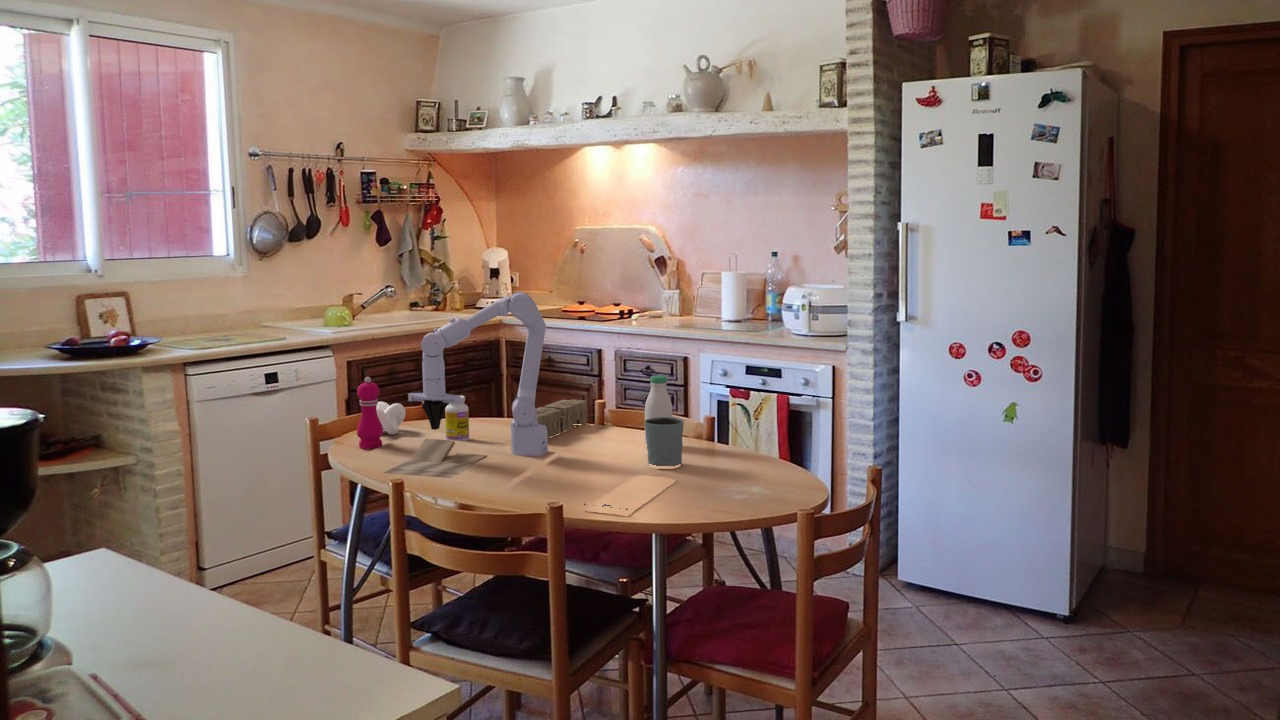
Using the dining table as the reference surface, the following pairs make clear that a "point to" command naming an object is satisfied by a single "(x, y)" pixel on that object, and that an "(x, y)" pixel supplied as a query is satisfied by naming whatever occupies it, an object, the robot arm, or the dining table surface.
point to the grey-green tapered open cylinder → (664, 440)
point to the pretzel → (390, 416)
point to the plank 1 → (433, 450)
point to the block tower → (561, 415)
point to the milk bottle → (658, 399)
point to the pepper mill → (369, 416)
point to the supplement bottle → (457, 421)
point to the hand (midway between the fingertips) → (435, 428)
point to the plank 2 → (465, 458)
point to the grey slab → (428, 469)
